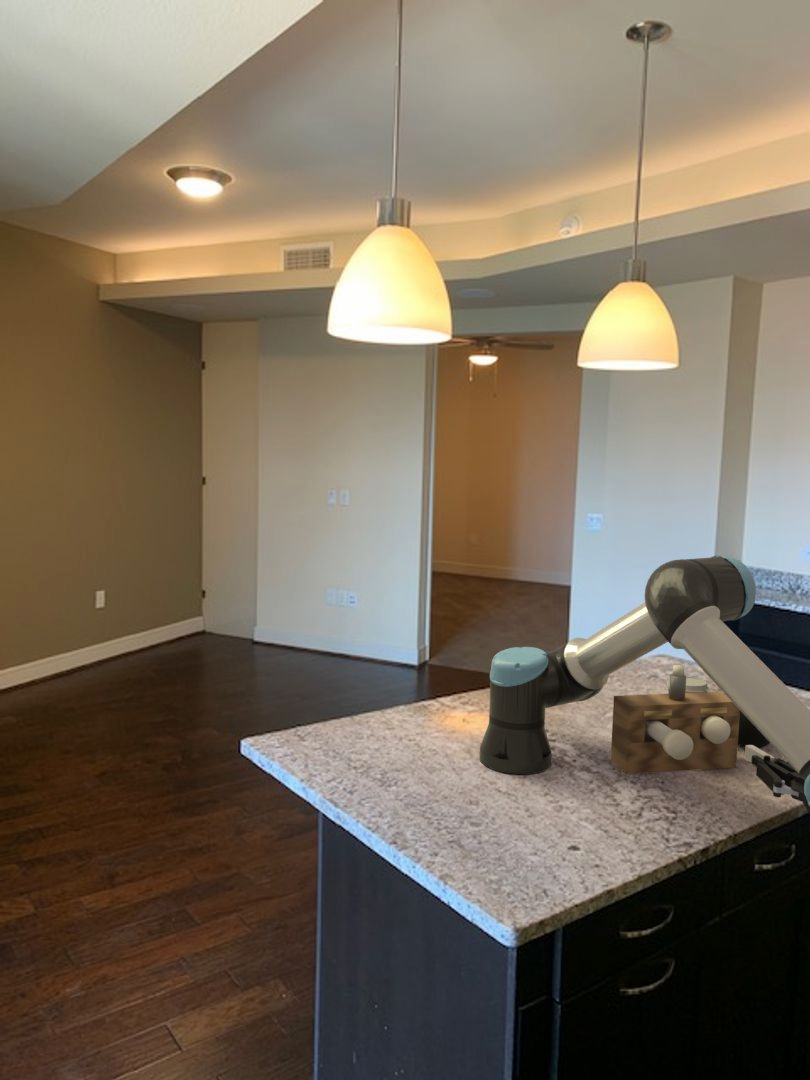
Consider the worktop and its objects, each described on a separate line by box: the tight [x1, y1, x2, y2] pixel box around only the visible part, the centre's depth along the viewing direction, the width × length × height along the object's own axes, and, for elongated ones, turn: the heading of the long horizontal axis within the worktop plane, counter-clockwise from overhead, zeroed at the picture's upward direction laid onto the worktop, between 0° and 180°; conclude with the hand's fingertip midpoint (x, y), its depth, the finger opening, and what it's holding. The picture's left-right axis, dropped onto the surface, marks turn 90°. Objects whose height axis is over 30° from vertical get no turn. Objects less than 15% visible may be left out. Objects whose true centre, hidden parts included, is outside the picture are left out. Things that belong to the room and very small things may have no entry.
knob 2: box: [700, 715, 731, 744], centre depth 167 cm, size 5×15×5 cm, turn 11°
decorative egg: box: [738, 711, 771, 750], centre depth 175 cm, size 12×12×15 cm
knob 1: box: [645, 719, 693, 760], centre depth 158 cm, size 5×15×5 cm, turn 11°
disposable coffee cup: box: [665, 675, 710, 693], centre depth 186 cm, size 10×10×12 cm
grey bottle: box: [668, 664, 687, 701], centre depth 163 cm, size 3×3×7 cm
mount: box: [610, 691, 740, 775], centre depth 164 cm, size 25×7×14 cm, turn 101°
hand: (748, 751), depth 148 cm, fingers closed
